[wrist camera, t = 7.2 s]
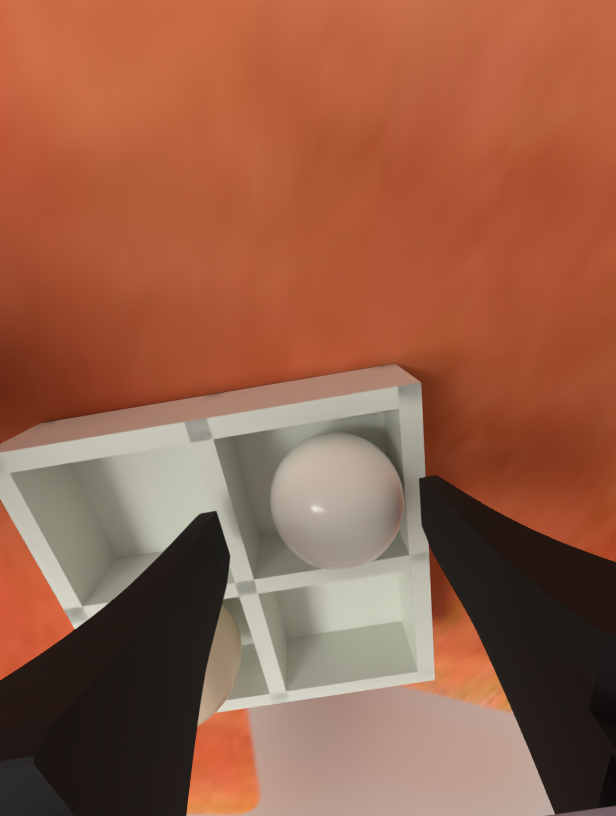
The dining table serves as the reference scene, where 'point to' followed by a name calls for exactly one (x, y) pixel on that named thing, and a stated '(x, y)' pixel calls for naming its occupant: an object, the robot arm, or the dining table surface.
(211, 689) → the brown egg
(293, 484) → the cream egg
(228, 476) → the egg tray
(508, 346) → the dining table surface
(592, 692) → the robot arm
